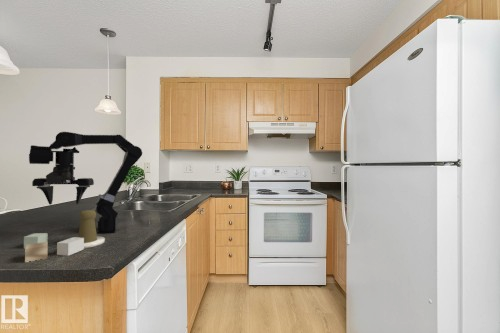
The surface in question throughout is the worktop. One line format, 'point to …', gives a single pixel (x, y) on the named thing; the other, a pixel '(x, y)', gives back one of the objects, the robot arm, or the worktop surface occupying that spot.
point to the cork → (87, 226)
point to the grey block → (70, 246)
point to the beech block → (36, 251)
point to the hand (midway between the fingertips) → (64, 204)
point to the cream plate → (95, 242)
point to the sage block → (35, 238)
